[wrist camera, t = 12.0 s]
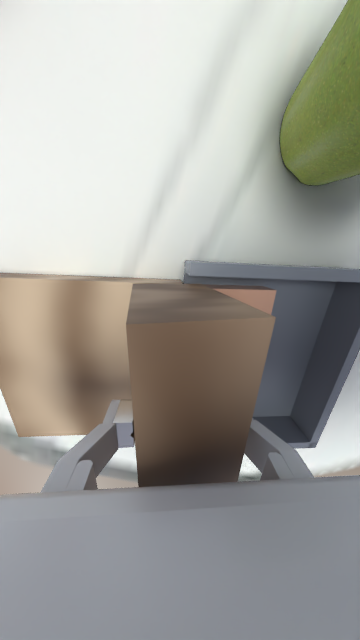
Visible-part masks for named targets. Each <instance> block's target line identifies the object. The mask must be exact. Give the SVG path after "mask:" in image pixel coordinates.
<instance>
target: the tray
mask: <svg viewBox="0 0 360 640" xmlns="http://www.w3.org/2000/svg"><path fill="white" fill-rule="evenodd" d="M184 284H209V285H248V286H264V287H268V288H271V289H274V290H277V291H276V295H275V300H274V304H273V309H272V313H271V315H272V316H274V317H276V319H275V323H274V328H273V332H272V336H271V340H270V345H269V349H268V353H267V357H266V362H265V366H264V370H263V374H262V379H261V383H260V387H259V391H258V396H257V400H256V404H255V408H254V413H253V417H252V418H253V419H254V420H257V421H258V422H260V423H261V424H262V425H263V426H265V427H266V428H267V429H269V430H270V431H271V432H273V433H274V434H275V435H277V436H278V437H279V438H280V439H282V440H283V441H284V442H286V443H287V444H288V445H290V446H291V447H292V448H293V449H294V448H315V447H316V445H317V443H318V440H319V438H320V436H321V434H322V432H323V429H324V427H325V425H326V423H327V421H328V418H329V416H330V414H331V412H332V409H333V407H334V405H335V403H336V401H337V398H338V396H339V394H340V392H341V390H342V387H343V385H344V383H345V381H346V378H347V376H348V374H349V372H350V370H351V367H352V365H353V363H354V361H355V358H356V356H357V354H358V352H359V350H360V269H349V268H330V267H309V266H288V265H267V264H246V263H225V262H204V261H185V271H184Z"/></svg>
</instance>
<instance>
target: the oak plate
mask: <svg viewBox="0 0 360 640" xmlns="http://www.w3.org/2000/svg"><path fill="white" fill-rule="evenodd" d="M133 284H183V283H182V282H181V280H173V279H147V278H121V277H95V276H69V275H43V274H17V273H0V389H1V391H2V394H3V397H4V399H5V402H6V404H7V407H8V410H9V412H10V415H11V418H12V420H13V423H14V426H15V428H16V431H17V433H18V436H19V437H31V436H62V435H87V434H89V433H90V432H91V431H92V430H93V429H94V428H95V427H97V426H98V425H99V424H102V423H103V420H104V418H105V415H106V413H107V410H108V408H109V405H110V403H111V401H112V400H121V399H125V400H132V396H131V384H130V371H129V358H128V346H127V333H126V321H127V315H128V309H129V303H130V297H131V291H132V286H133Z"/></svg>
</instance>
